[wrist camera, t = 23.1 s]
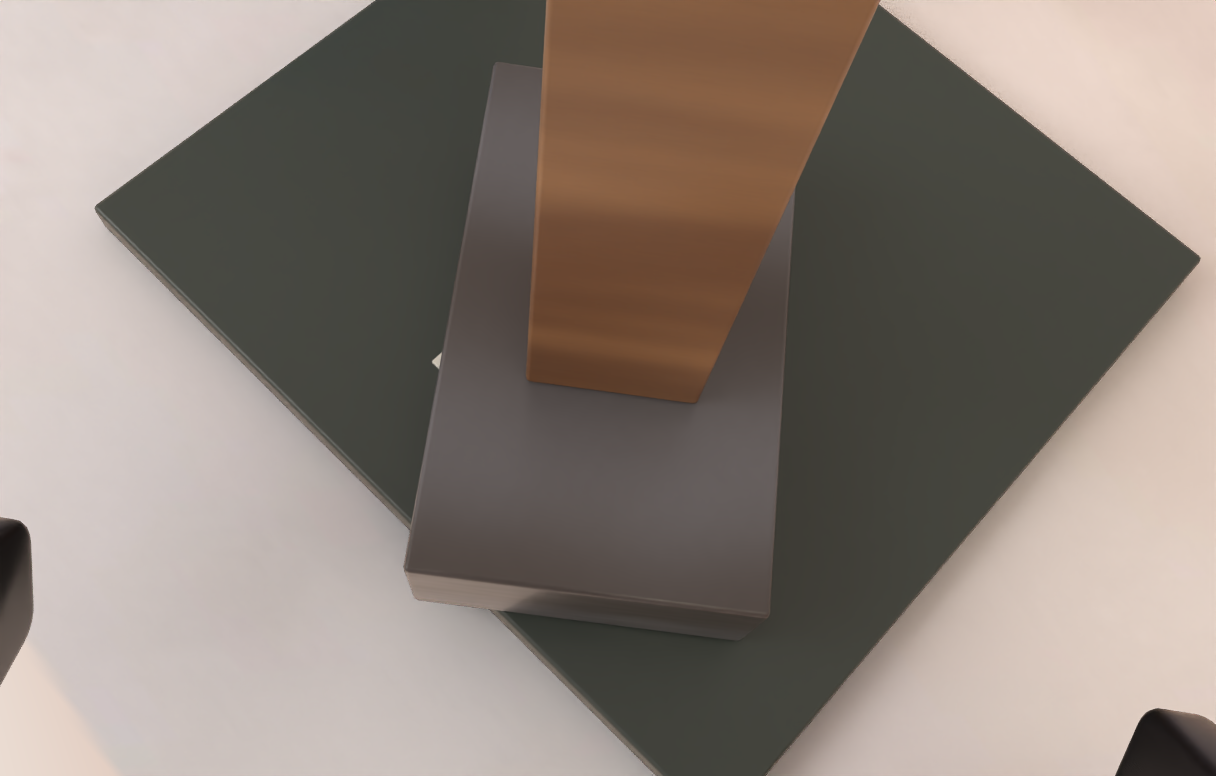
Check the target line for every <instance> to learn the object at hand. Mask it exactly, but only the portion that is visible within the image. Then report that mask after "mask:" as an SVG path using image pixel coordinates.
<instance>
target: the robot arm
mask: <svg viewBox="0 0 1216 776" xmlns="http://www.w3.org/2000/svg"><path fill="white" fill-rule="evenodd" d="M32 617H33V583H32V558H31V540H30V534H29V531H28V529H27V527H26V526H25V525H24V524H23V523H22V522H21V521H18V520H14V519H8V518H2V517H0V685H1V683H2V681H3V680H4V678H5V676H6V674H7V672H8V670H9V669H10V667H11V665H12V663H13V662H14V660H15V658H16V656H17V654H18V653H19V651H20V649H21V647H22V645H23V643H24V641H25V639H26V637H27V635H28V632H29V630H30V626H31V622H32ZM1115 776H1216V724H1214V723H1213V722H1212V721H1210V720H1209V719H1207V718H1205V717H1203V716H1200V715H1197V714H1191V713H1185V712H1179V711H1172V710H1166V709H1160V708H1156V709H1153V710H1150V711H1148V712H1146V713H1145V715H1144V716H1143V717H1142V718H1141V720H1140V721H1139V723H1138V725H1137V727H1136V729H1135V732H1134V734H1133V736H1132V739H1131V741H1130V743H1129V745H1128V748H1127V750H1126V752H1125V754H1124V757H1123V759H1122V761H1121V763H1120V766H1119V768H1118V770H1117V773H1116V775H1115Z"/></svg>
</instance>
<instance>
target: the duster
mask: <svg viewBox="0 0 1216 776" xmlns="http://www.w3.org/2000/svg"><path fill="white" fill-rule="evenodd" d="M879 2H880V0H546V16H545V34H544V53H543V68H536V67H529V66H522V65H515V64H509V63H502V62H496V63H495V64H494V66H493V70H492V76H491V81H490V87H489V93H488V98H487V104H486V109H485V115H484V120H483V126H482V132H481V137H480V143H479V148H478V154H477V160H476V165H475V171H474V176H473V182H472V187H471V193H470V199H469V204H468V210H467V215H466V221H465V227H464V232H463V238H462V243H461V249H460V254H459V260H458V266H457V271H456V277H455V282H454V288H453V294H452V299H451V305H450V310H449V316H448V321H447V327H446V333H445V338H444V344H443V349H442V355H441V361H440V366H439V372H438V377H437V383H436V388H435V394H434V400H433V405H432V411H431V416H430V422H429V427H428V433H427V439H426V444H425V450H424V455H423V461H422V467H421V472H420V478H419V483H418V489H417V494H416V500H415V506H414V511H413V517H412V522H411V528H410V534H409V539H408V545H407V550H406V556H405V561H404V571H405V573H406V576H407V579H408V582H409V584H410V587H411V590H412V593H413V595H414V598H415V599H417V600H421V601H429V602H437V603H445V604H452V605H460V606H468V607H476V608H484V609H492V610H499V611H507V612H515V613H523V614H531V615H539V616H546V617H554V618H562V619H570V620H578V621H585V622H593V623H601V624H609V625H617V626H625V627H632V628H640V629H648V630H656V631H664V632H672V633H679V634H687V635H695V636H703V637H711V638H718V639H726V640H734V641H738V640H741V639H742V638H744V637H745V636H746V635H747V634H749V633H750V632H751V631H752V630H753V629H755V628H756V627H757V626H758V625H760V624H761V623H762V622H763V621H765V620H766V619H767V618H768V617H769V615H770V605H771V588H772V572H773V555H774V538H775V522H776V505H777V488H778V472H779V455H780V438H781V422H782V405H783V388H784V372H785V355H786V338H787V322H788V305H789V288H790V272H791V255H792V238H793V222H794V205H795V188H796V185H797V182H798V180H799V178H800V176H801V174H802V171H803V169H804V167H805V165H806V163H807V160H808V158H809V156H810V154H811V152H812V149H813V147H814V145H815V143H816V141H817V138H818V136H819V134H820V132H821V130H822V127H823V125H824V123H825V121H826V119H827V116H828V114H829V112H830V110H831V108H832V105H833V103H834V101H835V99H836V97H837V94H838V92H839V90H840V88H841V86H842V84H843V81H844V79H845V77H846V75H847V73H848V70H849V68H850V66H851V64H852V62H853V59H854V57H855V55H856V53H857V51H858V48H859V46H860V44H861V42H862V40H863V37H864V35H865V33H866V31H867V29H868V26H869V24H870V22H871V20H872V18H873V15H874V13H875V11H876V9H877V7H878V4H879Z"/></svg>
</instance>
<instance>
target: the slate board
mask: <svg viewBox="0 0 1216 776" xmlns="http://www.w3.org/2000/svg"><path fill="white" fill-rule="evenodd" d="M545 16H546V0H375V1H374V2H373V3H371V4H370V5H369V6H367V7H366V8H364V9H363V10H362V11H360V12H359V13H358V14H356V15H355V16H354V17H352V18H351V19H349V20H348V21H347V22H345V23H344V24H343V25H341V26H340V27H339V28H337V29H336V30H334V31H333V32H332V33H330V34H329V35H328V36H326V37H325V38H324V39H322V40H321V41H319V42H318V43H317V44H315V45H314V46H313V47H311V48H310V49H309V50H307V51H306V52H304V53H303V54H302V55H300V56H299V57H298V58H296V59H295V60H294V61H292V62H291V63H289V64H288V65H287V66H285V67H284V68H283V69H281V70H280V71H279V72H277V73H276V74H274V75H273V76H272V77H270V78H269V79H268V80H266V81H265V82H264V83H262V84H261V85H259V86H258V87H257V88H255V89H254V90H253V91H251V92H250V93H249V94H247V95H246V96H244V97H243V98H242V99H240V100H239V101H238V102H236V103H235V104H234V105H232V106H231V107H229V108H228V109H227V110H225V111H224V112H223V113H221V114H220V115H219V116H217V117H216V118H214V119H213V120H212V121H210V122H209V123H208V124H206V125H205V126H204V127H202V128H201V129H199V130H198V131H197V132H195V133H194V134H193V135H191V136H190V137H189V138H187V139H186V140H184V141H183V142H182V143H180V144H179V145H178V146H176V147H175V148H174V149H172V150H171V151H169V152H168V153H167V154H165V155H164V156H163V157H161V158H160V159H159V160H157V161H156V162H154V163H153V164H152V165H150V166H149V167H148V168H146V169H145V170H144V171H142V172H141V173H139V174H138V175H137V176H135V177H134V178H133V179H131V180H130V181H129V182H127V183H126V184H124V185H123V186H122V187H120V188H119V189H118V190H116V191H115V192H114V193H112V194H111V195H109V196H108V197H107V198H105V199H104V200H103V201H101V202H100V203H99V204H97V205H96V206H95V210H96V213H97V214H98V216H99V217H100V219H101V220H102V222H103V223H104V225H105V226H106V227H107V228H108V229H109V230H110V231H111V232H112V233H113V234H114V235H115V236H116V237H117V238H118V239H119V240H120V241H121V242H122V243H123V244H124V245H125V246H126V247H127V248H128V249H129V250H130V251H131V252H132V253H133V254H134V255H135V256H136V257H137V258H138V259H139V260H140V261H141V262H142V263H143V264H144V265H145V266H146V267H147V268H148V269H149V270H150V271H151V272H152V273H153V274H154V275H155V276H156V277H157V278H158V279H159V280H160V281H161V282H162V283H163V284H164V285H165V286H166V287H167V288H168V289H169V290H170V291H171V292H172V293H173V294H174V295H175V296H176V297H177V298H178V299H179V300H180V301H181V302H182V303H183V304H184V305H185V306H186V307H187V308H188V309H189V310H190V311H191V312H192V313H193V314H194V315H195V316H196V317H197V318H198V319H199V320H200V321H201V322H202V323H203V324H204V325H205V326H206V327H207V328H208V329H209V330H210V331H211V332H212V333H213V334H214V335H215V336H216V337H217V338H218V339H219V340H220V341H221V342H222V343H223V344H224V345H225V346H226V347H227V348H228V349H229V350H230V351H231V352H232V353H233V354H234V355H235V356H236V357H237V358H238V359H239V360H240V361H241V362H242V363H243V364H244V365H245V366H246V367H247V368H248V369H249V370H250V371H251V372H252V373H253V374H254V375H255V376H256V377H257V378H258V379H259V380H260V381H261V382H262V383H263V384H264V385H265V386H266V387H267V388H268V389H269V390H270V391H271V392H272V393H273V394H274V395H275V396H276V397H277V398H278V399H279V400H280V401H281V402H282V403H283V404H284V405H285V406H286V407H287V408H288V409H289V410H290V411H291V412H292V413H293V414H294V415H295V416H296V417H297V418H298V419H299V420H300V421H301V422H302V423H303V424H304V425H305V426H306V427H307V428H308V429H309V430H310V431H311V432H312V433H313V434H314V435H315V436H316V437H317V438H318V439H319V440H320V441H321V442H322V443H323V444H324V445H325V446H326V447H327V448H328V449H329V450H330V451H331V452H332V453H333V454H334V455H335V456H336V457H337V458H338V459H339V460H340V461H341V462H342V463H343V464H344V465H345V466H346V467H347V468H348V469H349V470H350V471H351V472H352V473H353V474H354V475H355V476H356V477H357V478H358V479H359V480H360V481H361V482H362V483H363V484H364V485H365V486H366V487H367V488H368V489H369V490H370V491H371V492H372V493H373V494H374V495H375V496H376V497H377V498H378V499H379V500H380V501H381V502H382V503H383V504H384V505H385V506H386V507H387V508H388V509H389V510H390V511H391V512H392V513H393V514H394V515H395V516H396V517H397V518H398V519H399V520H400V521H401V522H402V523H403V524H404V525H405V526H406V527H407V528H408V529H409V530H410V528H411V522H412V517H413V511H414V506H415V500H416V494H417V489H418V483H419V478H420V472H421V467H422V461H423V455H424V450H425V444H426V439H427V433H428V427H429V422H430V416H431V411H432V405H433V400H434V394H435V388H436V383H437V377H438V372H439V366H440V361H441V355H442V349H443V344H444V338H445V333H446V327H447V321H448V316H449V310H450V305H451V299H452V294H453V288H454V282H455V277H456V271H457V266H458V260H459V254H460V249H461V243H462V238H463V232H464V227H465V221H466V215H467V210H468V204H469V199H470V193H471V187H472V182H473V176H474V171H475V165H476V160H477V154H478V148H479V143H480V137H481V132H482V126H483V120H484V115H485V109H486V104H487V98H488V93H489V87H490V81H491V76H492V70H493V66H494V64H495V63H496V62H502V63H509V64H515V65H522V66H529V67H536V68H543V53H544V34H545ZM1199 262H1200V257H1199V256H1198V255H1197V254H1196V253H1195V252H1193V251H1192V250H1191V249H1190V248H1188V247H1187V246H1186V245H1184V244H1183V243H1182V242H1181V241H1179V240H1178V239H1177V238H1176V237H1174V236H1173V235H1172V234H1170V233H1169V232H1168V231H1167V230H1165V229H1164V228H1163V227H1162V226H1160V225H1159V224H1158V223H1156V222H1155V221H1154V220H1153V219H1151V218H1150V217H1149V216H1148V215H1146V214H1145V213H1144V212H1142V211H1141V210H1140V209H1139V208H1137V207H1136V206H1135V205H1134V204H1132V203H1131V202H1130V201H1128V200H1127V199H1126V198H1125V197H1123V196H1122V195H1121V194H1120V193H1118V192H1117V191H1116V190H1114V189H1113V188H1112V187H1111V186H1109V185H1108V184H1107V183H1106V182H1104V181H1103V180H1102V179H1100V178H1099V177H1098V176H1097V175H1095V174H1094V173H1093V172H1092V171H1090V170H1089V169H1088V168H1086V167H1085V166H1084V165H1083V164H1081V163H1080V162H1079V161H1078V160H1076V159H1075V158H1074V157H1072V156H1071V155H1070V154H1069V153H1067V152H1066V151H1065V150H1064V149H1062V148H1061V147H1060V146H1058V145H1057V144H1056V143H1055V142H1053V141H1052V140H1051V139H1050V138H1048V137H1047V136H1046V135H1044V134H1043V133H1042V132H1041V131H1039V130H1038V129H1037V128H1036V127H1034V126H1033V125H1032V124H1030V123H1029V122H1028V121H1027V120H1025V119H1024V118H1023V117H1022V116H1020V115H1019V114H1018V113H1016V112H1015V111H1014V110H1013V109H1011V108H1010V107H1009V106H1008V105H1006V104H1005V103H1004V102H1002V101H1001V100H1000V99H999V98H997V97H996V96H995V95H994V94H992V93H991V92H990V91H988V90H987V89H986V88H985V87H983V86H982V85H981V84H980V83H978V82H977V81H976V80H974V79H973V78H972V77H971V76H969V75H968V74H967V73H966V72H964V71H963V70H962V69H960V68H959V67H958V66H957V65H955V64H954V63H953V62H952V61H950V60H949V59H948V58H946V57H945V56H944V55H943V54H941V53H940V52H939V51H938V50H936V49H935V48H934V47H932V46H931V45H930V44H929V43H927V42H926V41H925V40H924V39H922V38H921V37H920V36H918V35H917V34H916V33H915V32H913V31H912V30H911V29H910V28H908V27H907V26H906V25H904V24H903V23H902V22H901V21H899V20H898V19H897V18H896V17H894V16H893V15H892V14H890V13H889V12H888V11H887V10H885V9H884V8H883V7H882V6H880V5H879V4H878V7H877V9H876V11H875V13H874V15H873V18H872V20H871V22H870V24H869V26H868V29H867V31H866V33H865V35H864V37H863V40H862V42H861V44H860V46H859V48H858V51H857V53H856V55H855V57H854V59H853V62H852V64H851V66H850V68H849V70H848V73H847V75H846V77H845V79H844V81H843V84H842V86H841V88H840V90H839V92H838V94H837V97H836V99H835V101H834V103H833V105H832V108H831V110H830V112H829V114H828V116H827V119H826V121H825V123H824V125H823V127H822V130H821V132H820V134H819V136H818V138H817V141H816V143H815V145H814V147H813V149H812V152H811V154H810V156H809V158H808V160H807V163H806V165H805V167H804V169H803V171H802V174H801V176H800V178H799V180H798V182H797V185H796V188H795V205H794V222H793V238H792V255H791V272H790V288H789V305H788V322H787V338H786V355H785V372H784V388H783V405H782V422H781V438H780V455H779V472H778V488H777V505H776V522H775V538H774V555H773V572H772V588H771V605H770V615H769V617H768V618H767V619H766V620H765V621H763V622H762V623H761V624H760V625H758V626H757V627H756V628H755V629H753V630H752V631H751V632H750V633H749V634H747V635H746V636H745V637H744V638H742V639H741V640H738V641H734V640H726V639H718V638H711V637H703V636H695V635H687V634H679V633H672V632H664V631H656V630H648V629H640V628H632V627H625V626H617V625H609V624H601V623H593V622H585V621H578V620H570V619H562V618H554V617H546V616H539V615H531V614H523V613H515V612H507V611H499V610H492V609H490V610H491V611H492V612H493V613H494V614H495V615H496V616H497V617H498V618H499V619H500V620H501V621H502V622H503V623H504V624H505V625H506V626H507V627H508V628H509V629H510V630H511V631H512V632H513V633H514V634H515V635H516V636H517V637H518V638H519V639H520V640H521V641H522V642H523V643H524V644H525V645H526V646H527V647H528V648H529V649H530V650H531V651H532V652H533V653H534V654H535V655H536V656H537V657H538V658H539V659H540V660H541V661H542V662H543V663H544V664H545V665H546V666H547V667H548V668H549V669H550V670H551V671H552V672H553V673H554V674H555V675H556V676H557V677H558V678H559V679H560V680H561V681H562V682H563V683H564V684H565V685H566V686H567V687H568V688H569V689H570V690H571V691H572V692H573V693H574V694H575V695H576V696H577V697H578V698H579V699H580V700H581V701H582V702H583V703H584V704H585V705H586V706H587V707H588V708H589V709H590V710H591V711H592V712H593V713H594V714H595V715H596V716H597V717H598V718H599V719H600V720H601V721H602V722H603V723H604V724H605V725H606V726H607V727H608V728H609V729H610V730H611V731H612V732H613V733H614V734H615V735H616V736H617V737H618V738H619V739H620V740H621V741H622V742H623V743H624V744H625V745H626V746H627V747H628V748H629V749H630V750H631V751H632V752H633V753H634V754H635V755H636V756H637V757H638V758H639V759H640V760H641V761H642V762H643V763H644V764H645V765H646V766H647V767H648V768H649V769H650V770H651V771H652V772H653V773H654V774H655V775H656V776H766V775H767V773H768V772H769V771H770V770H771V769H772V768H773V766H774V765H775V764H776V763H777V762H778V760H779V759H780V758H781V757H782V756H783V755H784V753H785V752H786V751H787V750H788V749H789V747H790V746H791V745H792V744H793V743H794V741H795V740H796V739H797V738H798V737H799V736H800V734H801V733H802V732H803V731H804V730H805V728H806V727H807V726H808V725H809V724H810V723H811V721H812V720H813V719H814V718H815V717H816V715H817V714H818V713H819V712H820V711H821V710H822V708H823V707H824V706H825V705H826V704H827V702H828V701H829V700H830V699H831V698H832V696H833V695H834V694H835V693H836V692H837V691H838V689H839V688H840V687H841V686H842V685H843V683H844V682H845V681H846V680H847V679H848V678H849V676H850V675H851V674H852V673H853V672H854V670H855V669H856V668H857V667H858V666H859V665H860V663H861V662H862V661H863V660H864V659H865V657H866V656H867V655H868V654H869V653H870V652H871V650H872V649H873V648H874V647H875V646H876V644H877V643H878V642H879V641H880V640H881V638H882V637H883V636H884V635H885V634H886V633H887V631H888V630H889V629H890V628H891V627H892V625H893V624H894V623H895V622H896V621H897V620H898V618H899V617H900V616H901V615H902V614H903V612H904V611H905V610H906V609H907V608H908V607H909V605H910V604H911V603H912V602H913V601H914V599H915V598H916V597H917V596H918V595H919V594H920V592H921V591H922V590H923V589H924V588H925V586H926V585H927V584H928V583H929V582H930V580H931V579H932V578H933V577H934V576H935V575H936V573H937V572H938V571H939V570H940V569H941V567H942V566H943V565H944V564H945V563H946V562H947V560H948V559H949V558H950V557H951V556H952V554H953V553H954V552H955V551H956V550H957V549H958V547H959V546H960V545H961V544H962V543H963V541H964V540H965V539H966V538H967V537H968V536H969V534H970V533H971V532H972V531H973V530H974V528H975V527H976V526H977V525H978V524H979V522H980V521H981V520H982V519H983V518H984V517H985V515H986V514H987V513H988V512H989V511H990V509H991V508H992V507H993V506H994V505H995V504H996V502H997V501H998V500H999V499H1000V498H1001V496H1002V495H1003V494H1004V493H1005V492H1006V491H1007V489H1008V488H1009V487H1010V486H1011V485H1012V483H1013V482H1014V481H1015V480H1016V479H1017V478H1018V476H1019V475H1020V474H1021V473H1022V472H1023V470H1024V469H1025V468H1026V467H1027V466H1028V464H1029V463H1030V462H1031V461H1032V460H1033V459H1034V457H1035V456H1036V455H1037V454H1038V453H1039V451H1040V450H1041V449H1042V448H1043V447H1044V446H1045V444H1046V443H1047V442H1048V441H1049V440H1050V438H1051V437H1052V436H1053V435H1054V434H1055V433H1056V431H1057V430H1058V429H1059V428H1060V427H1061V425H1062V424H1063V423H1064V422H1065V421H1066V420H1067V418H1068V417H1069V416H1070V415H1071V414H1072V412H1073V411H1074V410H1075V409H1076V408H1077V406H1078V405H1079V404H1080V403H1081V402H1082V401H1083V399H1084V398H1085V397H1086V396H1087V395H1088V393H1089V392H1090V391H1091V390H1092V389H1093V388H1094V386H1095V385H1096V384H1097V383H1098V382H1099V380H1100V379H1101V378H1102V377H1103V376H1104V375H1105V373H1106V372H1107V371H1108V370H1109V369H1110V367H1111V366H1112V365H1113V364H1114V363H1115V362H1116V360H1117V359H1118V358H1119V357H1120V356H1121V354H1122V353H1123V352H1124V351H1125V350H1126V348H1127V347H1128V346H1129V345H1130V344H1131V343H1132V341H1133V340H1134V339H1135V338H1136V337H1137V335H1138V334H1139V333H1140V332H1141V331H1142V330H1143V328H1144V327H1145V326H1146V325H1147V324H1148V322H1149V321H1150V320H1151V319H1152V318H1153V317H1154V315H1155V314H1156V313H1157V312H1158V311H1159V309H1160V308H1161V307H1162V306H1163V305H1164V304H1165V302H1166V301H1167V300H1168V299H1169V298H1170V296H1171V295H1172V294H1173V293H1174V292H1175V290H1176V289H1177V288H1178V287H1179V286H1180V285H1181V283H1182V282H1183V281H1184V280H1185V279H1186V277H1187V276H1188V275H1189V274H1190V273H1191V272H1192V270H1193V269H1194V268H1195V267H1196V266H1197V264H1198V263H1199Z"/></svg>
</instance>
